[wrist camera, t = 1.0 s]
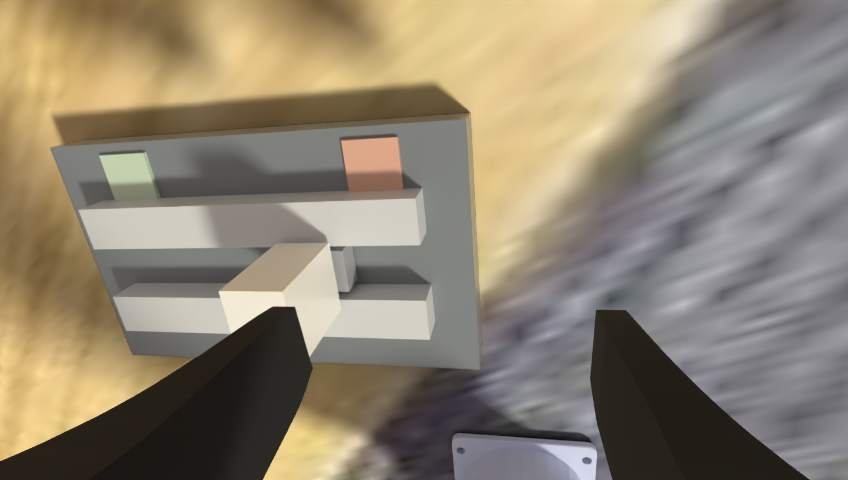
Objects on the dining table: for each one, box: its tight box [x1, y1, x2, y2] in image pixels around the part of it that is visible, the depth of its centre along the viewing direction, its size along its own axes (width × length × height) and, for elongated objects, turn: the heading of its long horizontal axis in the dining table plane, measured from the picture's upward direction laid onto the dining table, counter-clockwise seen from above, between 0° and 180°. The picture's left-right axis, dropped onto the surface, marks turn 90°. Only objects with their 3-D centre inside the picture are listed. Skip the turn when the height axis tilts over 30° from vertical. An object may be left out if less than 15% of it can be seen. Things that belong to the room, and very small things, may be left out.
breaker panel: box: [50, 113, 482, 369], centre depth 22 cm, size 20×12×4 cm, turn 95°
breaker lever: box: [219, 243, 358, 357], centre depth 19 cm, size 3×3×6 cm
